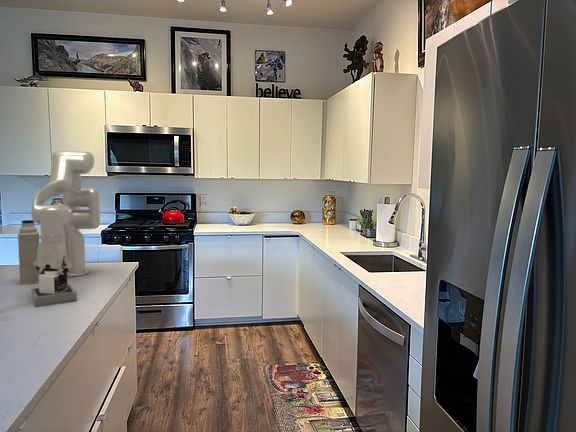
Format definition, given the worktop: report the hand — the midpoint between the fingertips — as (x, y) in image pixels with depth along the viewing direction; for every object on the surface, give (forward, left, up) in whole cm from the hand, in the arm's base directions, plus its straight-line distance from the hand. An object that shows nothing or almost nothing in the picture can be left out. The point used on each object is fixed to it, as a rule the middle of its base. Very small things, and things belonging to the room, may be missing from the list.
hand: (53, 283), depth 164 cm
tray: (0, 0, -7) cm, 7 cm away
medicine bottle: (0, 0, -4) cm, 4 cm away
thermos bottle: (-33, -5, -7) cm, 34 cm away
